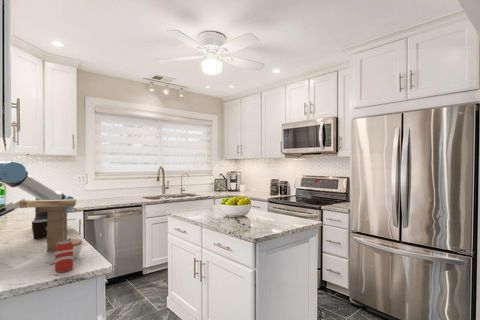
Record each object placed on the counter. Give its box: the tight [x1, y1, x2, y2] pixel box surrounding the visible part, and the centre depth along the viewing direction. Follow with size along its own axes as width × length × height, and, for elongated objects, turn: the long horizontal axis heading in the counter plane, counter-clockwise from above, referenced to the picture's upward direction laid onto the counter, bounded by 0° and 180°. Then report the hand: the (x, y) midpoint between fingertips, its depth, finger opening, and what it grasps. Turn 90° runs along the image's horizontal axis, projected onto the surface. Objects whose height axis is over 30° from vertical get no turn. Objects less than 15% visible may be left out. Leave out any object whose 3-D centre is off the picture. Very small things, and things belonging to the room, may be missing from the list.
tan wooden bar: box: [18, 198, 77, 209], centre depth 146 cm, size 4×24×3 cm, turn 108°
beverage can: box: [54, 239, 74, 273], centre depth 119 cm, size 6×6×12 cm
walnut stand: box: [39, 206, 69, 253], centre depth 146 cm, size 9×11×22 cm
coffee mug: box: [31, 219, 47, 240], centre depth 170 cm, size 12×9×10 cm
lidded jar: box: [56, 237, 83, 260], centre depth 133 cm, size 11×11×9 cm
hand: (19, 202), depth 141 cm, fingers open, 13 cm apart
